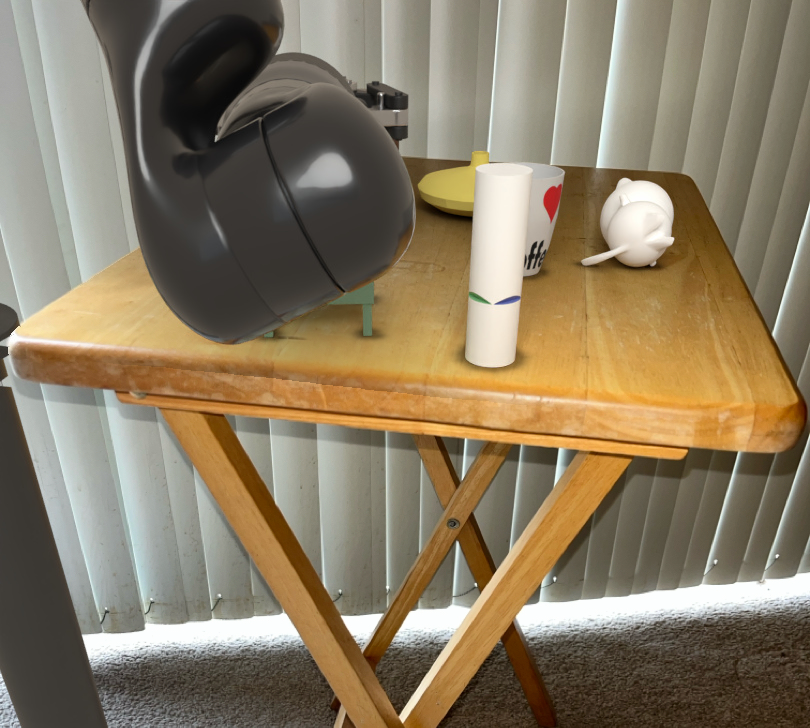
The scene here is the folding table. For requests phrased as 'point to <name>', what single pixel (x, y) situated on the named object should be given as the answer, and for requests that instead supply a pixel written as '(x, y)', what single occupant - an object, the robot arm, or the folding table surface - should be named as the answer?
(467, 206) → the vase
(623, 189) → the cat figurine
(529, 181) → the tube
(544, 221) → the cup
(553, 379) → the folding table surface
